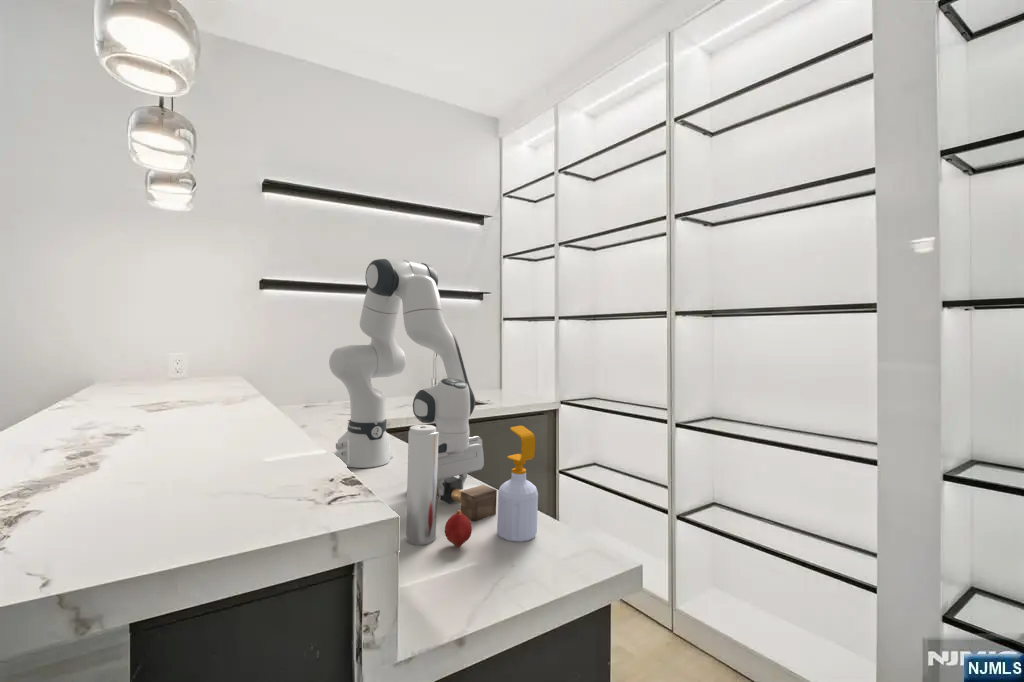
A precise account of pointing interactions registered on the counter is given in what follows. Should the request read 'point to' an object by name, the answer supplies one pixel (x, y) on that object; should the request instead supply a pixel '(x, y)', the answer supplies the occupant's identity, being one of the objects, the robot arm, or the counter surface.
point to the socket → (478, 502)
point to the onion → (458, 529)
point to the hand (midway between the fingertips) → (450, 492)
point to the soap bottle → (518, 495)
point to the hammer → (452, 490)
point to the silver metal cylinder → (422, 484)
